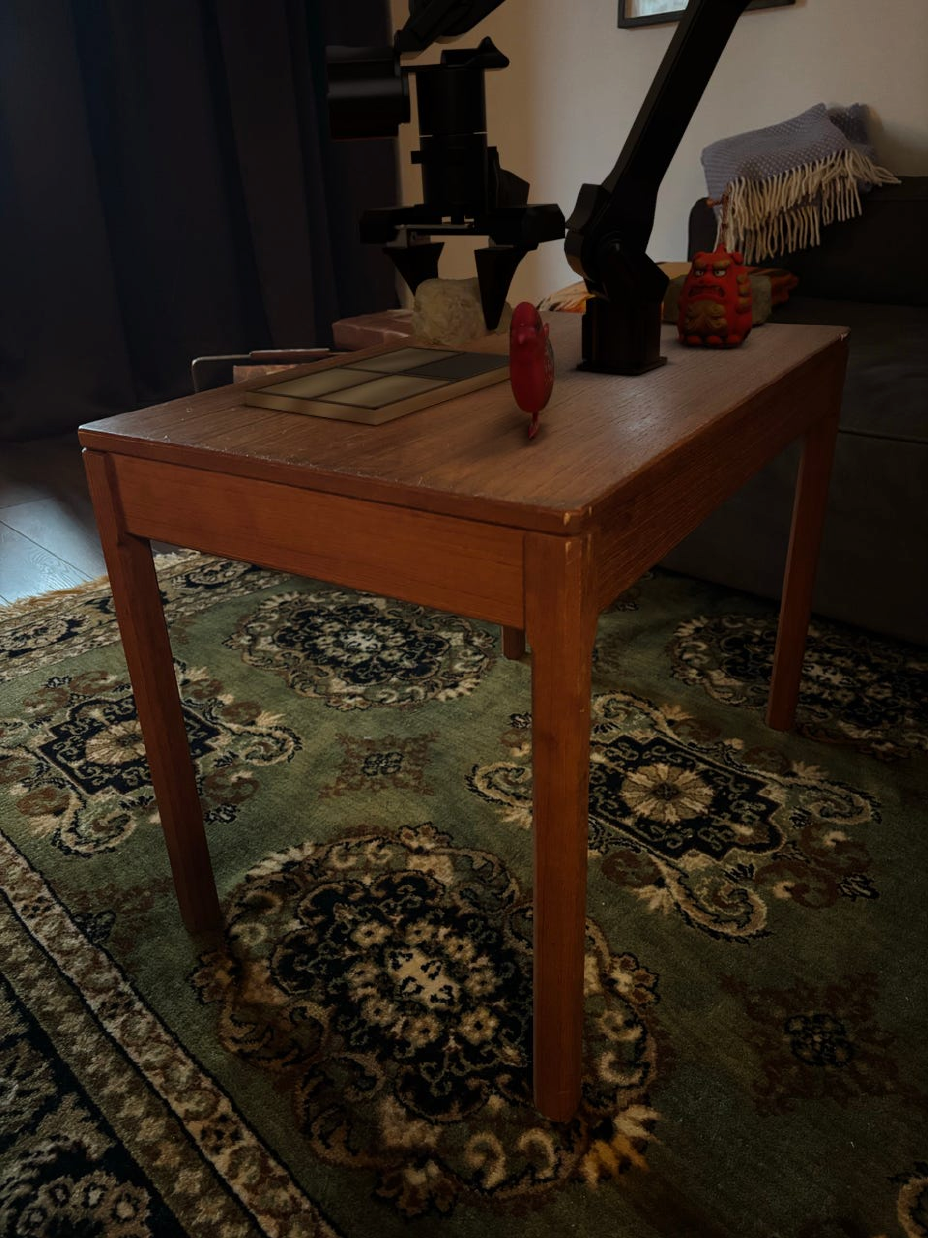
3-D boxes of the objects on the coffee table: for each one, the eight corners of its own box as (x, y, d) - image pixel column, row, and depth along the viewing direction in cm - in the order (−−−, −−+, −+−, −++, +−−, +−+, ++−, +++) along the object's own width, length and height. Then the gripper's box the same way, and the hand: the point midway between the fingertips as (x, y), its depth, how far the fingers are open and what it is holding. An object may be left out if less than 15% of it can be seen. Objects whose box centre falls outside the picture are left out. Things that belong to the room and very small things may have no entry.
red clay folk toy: (666, 347, 98) (673, 186, 92) (688, 335, 104) (696, 182, 97) (741, 351, 95) (754, 184, 88) (760, 338, 100) (773, 180, 93)
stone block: (678, 315, 115) (680, 271, 113) (774, 320, 110) (778, 274, 107) (659, 323, 111) (661, 278, 109) (758, 329, 105) (762, 281, 103)
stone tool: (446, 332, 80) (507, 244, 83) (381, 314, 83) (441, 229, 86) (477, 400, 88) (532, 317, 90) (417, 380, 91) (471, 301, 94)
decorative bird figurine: (502, 461, 65) (497, 307, 61) (530, 399, 81) (528, 273, 77) (544, 461, 65) (543, 306, 61) (565, 399, 81) (565, 272, 76)
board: (530, 370, 91) (530, 356, 91) (376, 425, 76) (374, 408, 75) (408, 358, 100) (408, 345, 99) (247, 405, 84) (245, 390, 83)
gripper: (599, 126, 81) (597, 318, 88) (426, 138, 92) (437, 309, 98) (526, 129, 73) (530, 339, 80) (346, 141, 84) (363, 327, 90)
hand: (463, 327), depth 87 cm, fingers closed on stone tool, 6 cm apart
